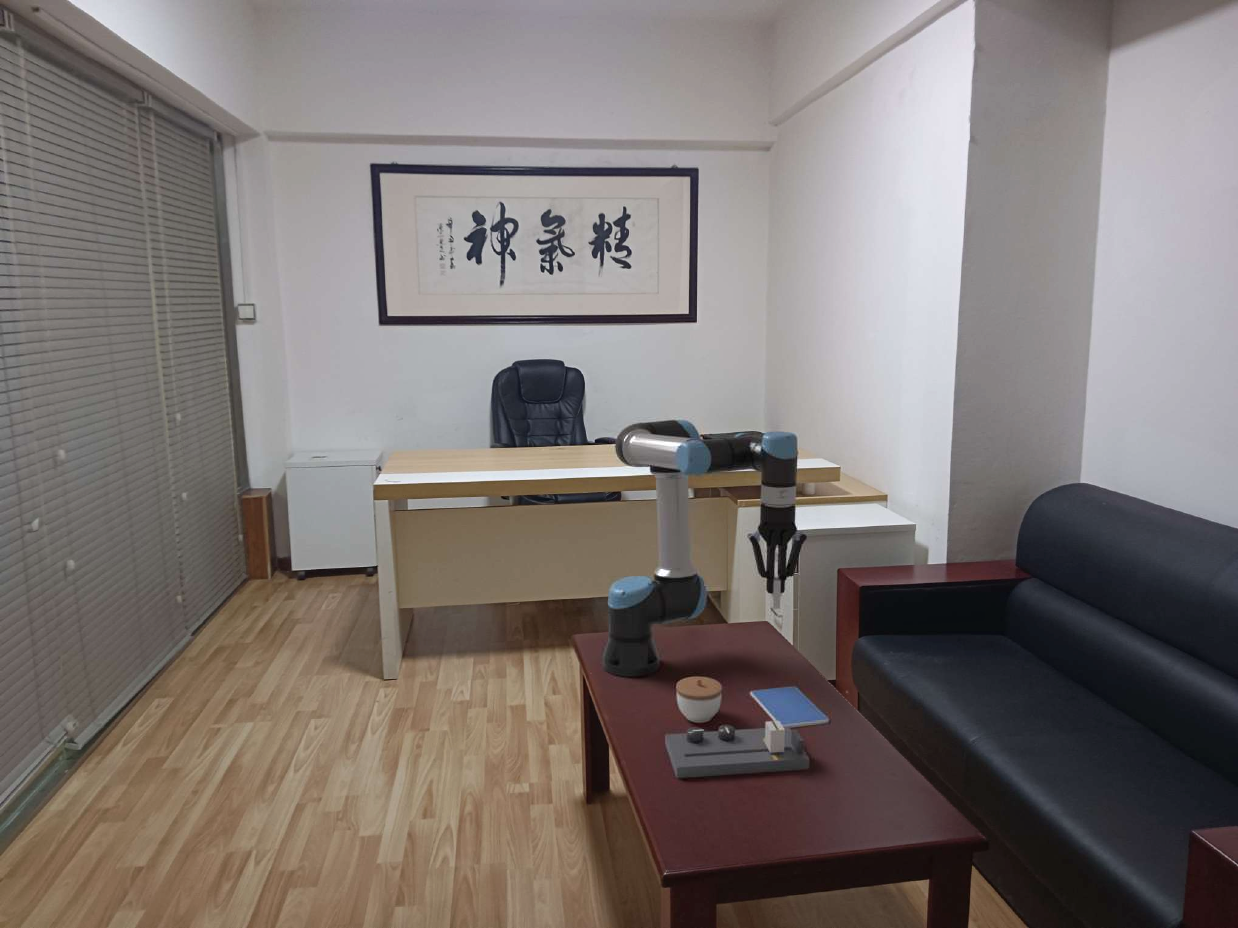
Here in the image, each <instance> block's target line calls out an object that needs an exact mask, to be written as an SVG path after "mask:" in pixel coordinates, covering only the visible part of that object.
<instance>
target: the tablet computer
mask: <svg viewBox="0 0 1238 928" xmlns="http://www.w3.org/2000/svg"><path fill="white" fill-rule="evenodd" d="M749 695H750V696H751V698H752V699H754V700H755V701H756V703H758V705H759V706H760V707H761V708H762V709H763V711H764V712H765V713H766V714H767V715H768V717H770V718H771V720H772V721H780V723H781V724H782V726H783V727H790V729H792V728H800V727H807V726H817V725H823V724H828V723H830V720H829V718H828V716H826V715H825V714H824V712H822V710H820V709H819V708H818V707H817V706H816V705H815V704H814V703H813V702H812V701H811V700H810V699H809V698H808V697H807V696H806V695H804V694H803V692H802V691H800V689H799V688H798V687H796V686H793V685H792V686H785V687H775V688H768V689H767V688H765V689H756V690H751V691H749Z"/></svg>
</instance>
